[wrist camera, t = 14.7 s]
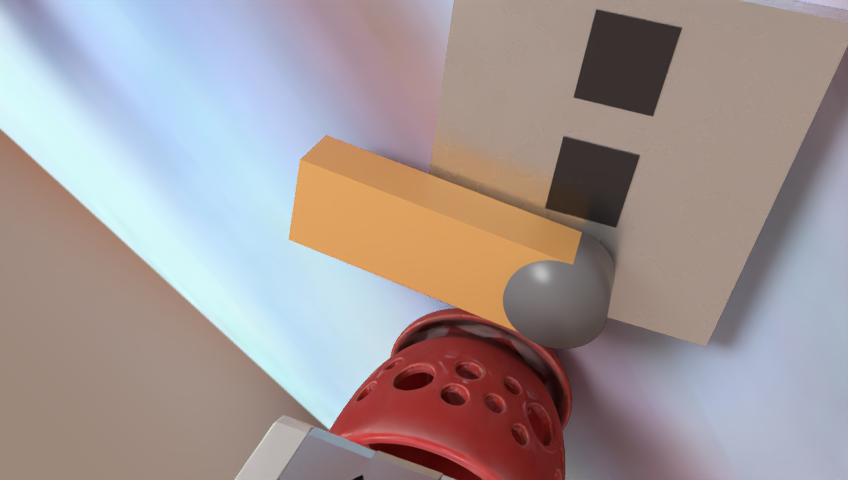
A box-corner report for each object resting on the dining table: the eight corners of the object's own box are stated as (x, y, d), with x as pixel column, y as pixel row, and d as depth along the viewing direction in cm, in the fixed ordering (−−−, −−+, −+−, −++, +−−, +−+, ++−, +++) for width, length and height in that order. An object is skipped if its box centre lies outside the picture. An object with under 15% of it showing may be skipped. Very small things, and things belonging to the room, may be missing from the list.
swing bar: (326, 135, 37) (297, 162, 35) (630, 250, 35) (624, 288, 33) (313, 212, 40) (286, 242, 38) (593, 323, 38) (585, 363, 35)
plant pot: (387, 267, 44) (297, 402, 34) (602, 318, 41) (570, 482, 31) (383, 416, 51) (309, 562, 42) (566, 468, 48) (532, 639, 38)
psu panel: (849, 11, 29) (858, 24, 28) (706, 323, 39) (706, 347, 37) (474, -65, 32) (461, -56, 31) (427, 242, 42) (416, 260, 40)
